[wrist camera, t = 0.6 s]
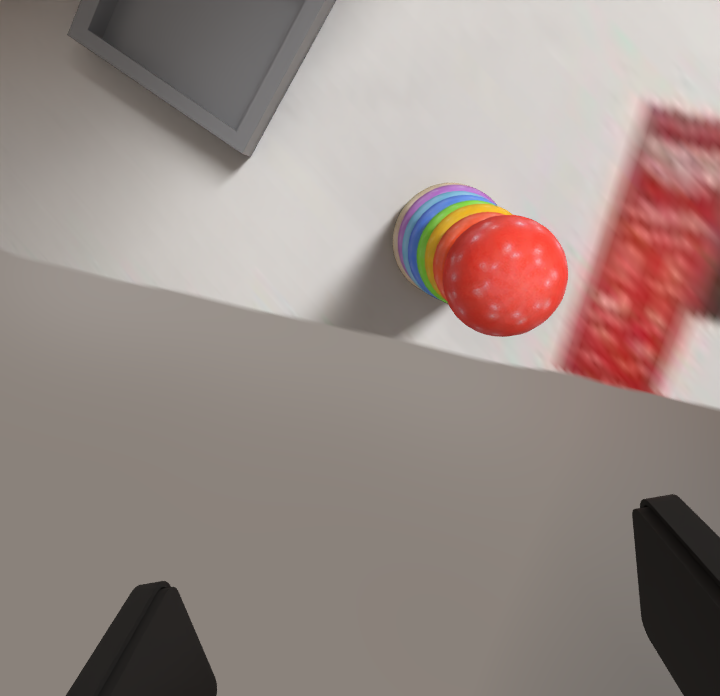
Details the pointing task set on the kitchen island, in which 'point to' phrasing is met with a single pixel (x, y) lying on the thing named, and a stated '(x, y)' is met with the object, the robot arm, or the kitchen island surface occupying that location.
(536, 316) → the stacking toy
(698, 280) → the kitchen island surface
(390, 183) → the kitchen island surface
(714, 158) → the kitchen island surface
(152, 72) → the tray
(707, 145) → the kitchen island surface
